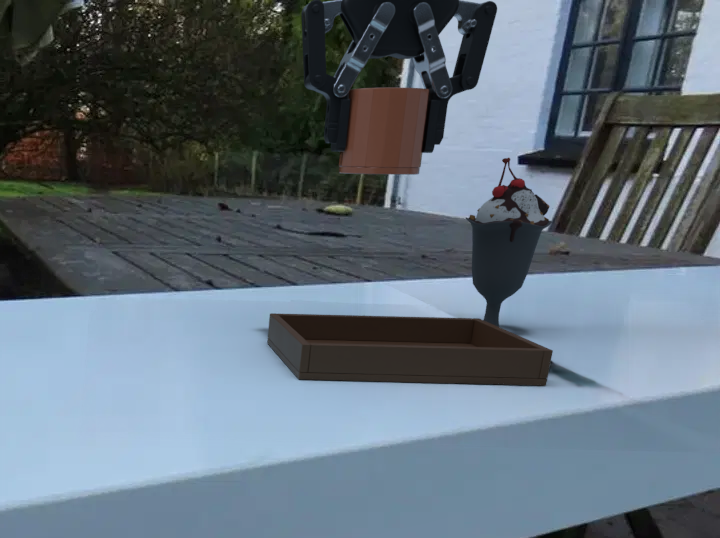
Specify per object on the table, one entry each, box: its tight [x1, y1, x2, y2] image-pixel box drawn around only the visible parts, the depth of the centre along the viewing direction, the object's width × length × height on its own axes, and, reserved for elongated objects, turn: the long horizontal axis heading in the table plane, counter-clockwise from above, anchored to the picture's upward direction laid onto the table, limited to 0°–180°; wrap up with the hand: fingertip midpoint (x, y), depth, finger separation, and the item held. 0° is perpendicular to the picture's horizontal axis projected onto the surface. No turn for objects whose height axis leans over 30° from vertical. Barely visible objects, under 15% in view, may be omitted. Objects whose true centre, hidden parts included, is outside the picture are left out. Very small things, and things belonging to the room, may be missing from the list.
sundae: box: [465, 157, 553, 327], centre depth 77 cm, size 7×7×15 cm
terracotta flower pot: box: [338, 87, 430, 176], centre depth 71 cm, size 6×6×6 cm
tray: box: [267, 313, 554, 387], centre depth 70 cm, size 17×13×2 cm
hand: (381, 151), depth 71 cm, fingers closed on terracotta flower pot, 6 cm apart
